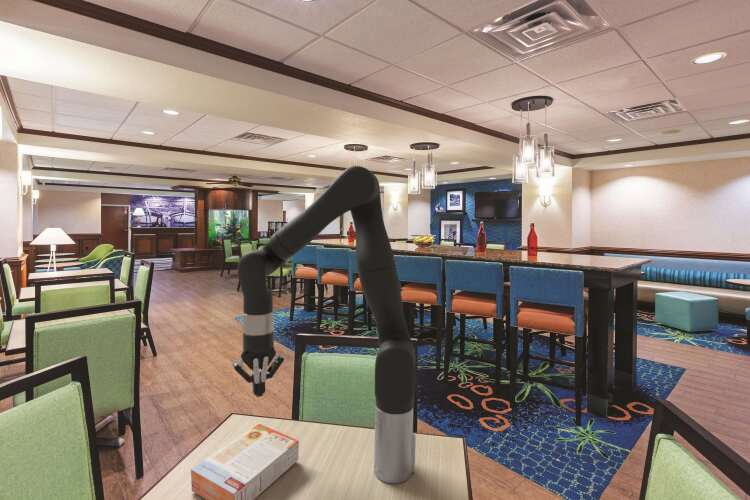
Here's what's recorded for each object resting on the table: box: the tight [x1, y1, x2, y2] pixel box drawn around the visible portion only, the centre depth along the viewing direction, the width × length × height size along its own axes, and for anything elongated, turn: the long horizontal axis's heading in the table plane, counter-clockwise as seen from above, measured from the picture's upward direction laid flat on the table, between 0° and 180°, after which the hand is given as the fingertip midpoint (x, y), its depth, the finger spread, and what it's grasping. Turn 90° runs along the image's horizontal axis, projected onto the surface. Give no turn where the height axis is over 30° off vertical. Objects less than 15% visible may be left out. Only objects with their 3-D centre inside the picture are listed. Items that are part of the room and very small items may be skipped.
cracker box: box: [190, 423, 300, 500], centre depth 92 cm, size 14×6×21 cm
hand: (259, 395), depth 99 cm, fingers closed
